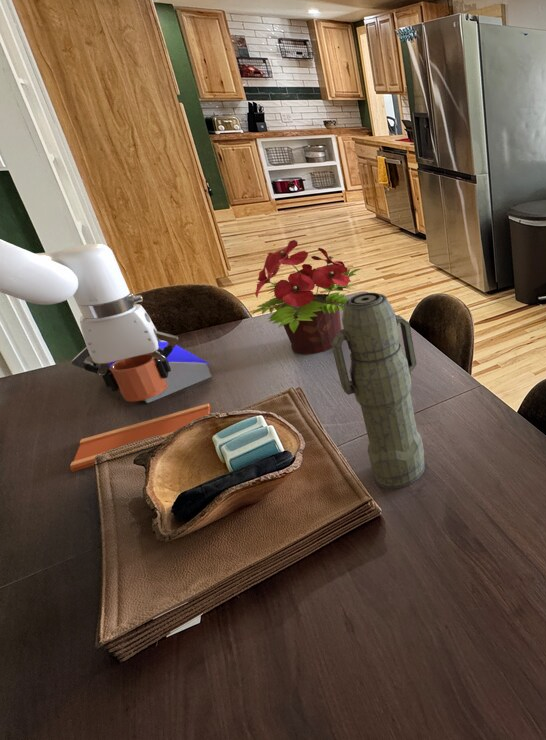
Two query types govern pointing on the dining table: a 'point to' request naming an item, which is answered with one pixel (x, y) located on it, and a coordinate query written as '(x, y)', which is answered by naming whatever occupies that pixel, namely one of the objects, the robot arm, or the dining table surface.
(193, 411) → the orange rectangular tray
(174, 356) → the roof
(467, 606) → the dining table surface
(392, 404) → the thermos
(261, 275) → the potted plant
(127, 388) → the terracotta pot
